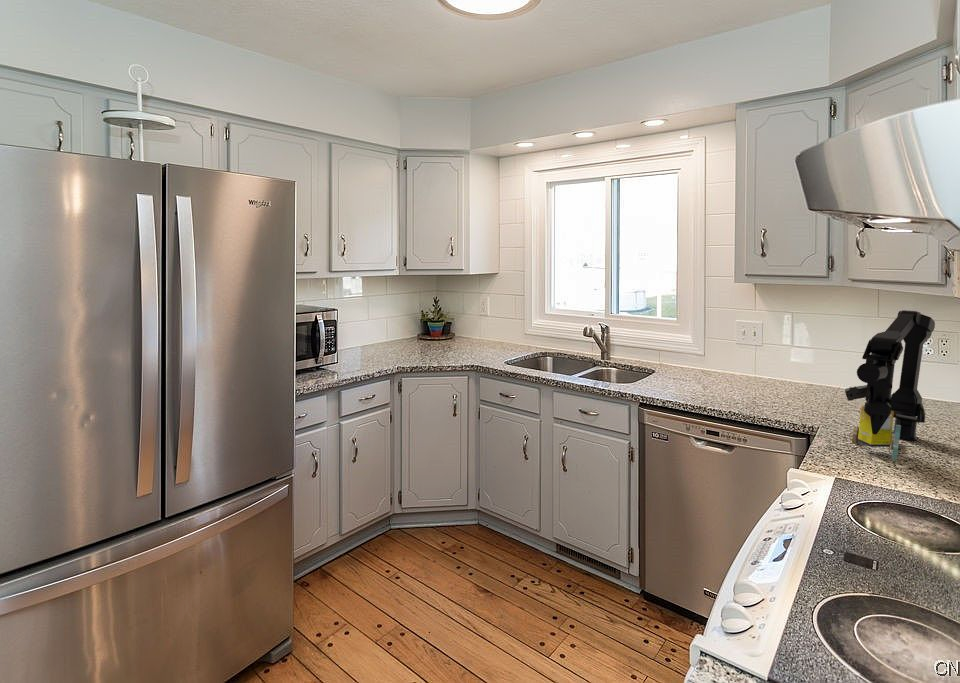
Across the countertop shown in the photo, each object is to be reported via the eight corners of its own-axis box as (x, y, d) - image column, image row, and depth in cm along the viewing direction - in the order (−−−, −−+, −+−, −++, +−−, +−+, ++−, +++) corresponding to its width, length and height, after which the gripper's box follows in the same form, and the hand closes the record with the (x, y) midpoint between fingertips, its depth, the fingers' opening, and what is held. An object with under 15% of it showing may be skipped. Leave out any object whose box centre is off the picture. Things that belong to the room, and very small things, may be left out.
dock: (853, 435, 186) (854, 426, 185) (894, 442, 179) (895, 433, 179) (851, 443, 178) (852, 433, 177) (894, 450, 172) (896, 440, 171)
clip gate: (891, 459, 162) (894, 432, 161) (892, 450, 170) (896, 424, 169) (896, 460, 161) (900, 432, 160) (897, 451, 169) (901, 425, 168)
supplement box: (875, 441, 172) (879, 406, 171) (890, 447, 166) (894, 411, 165) (856, 441, 172) (860, 405, 171) (870, 447, 166) (874, 411, 165)
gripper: (850, 371, 179) (844, 419, 181) (846, 380, 164) (840, 432, 166) (893, 375, 172) (887, 425, 174) (894, 386, 157) (887, 440, 159)
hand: (874, 430), depth 169 cm, fingers closed on supplement box, 8 cm apart
